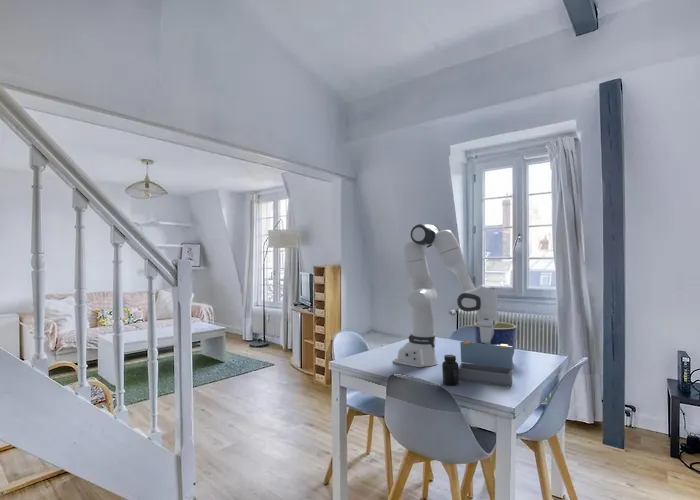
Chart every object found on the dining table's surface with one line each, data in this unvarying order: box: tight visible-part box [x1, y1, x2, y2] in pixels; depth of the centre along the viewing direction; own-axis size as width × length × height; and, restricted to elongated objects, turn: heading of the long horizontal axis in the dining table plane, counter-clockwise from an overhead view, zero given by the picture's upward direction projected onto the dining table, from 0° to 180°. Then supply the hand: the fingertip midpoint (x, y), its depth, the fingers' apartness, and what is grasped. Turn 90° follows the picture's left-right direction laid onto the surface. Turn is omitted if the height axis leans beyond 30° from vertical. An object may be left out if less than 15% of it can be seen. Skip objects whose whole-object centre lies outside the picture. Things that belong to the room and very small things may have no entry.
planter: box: [473, 321, 517, 356], centre depth 203 cm, size 21×21×19 cm
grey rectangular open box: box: [458, 362, 513, 388], centre depth 174 cm, size 22×10×5 cm, turn 64°
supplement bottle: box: [441, 354, 460, 387], centre depth 169 cm, size 7×7×12 cm
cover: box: [459, 340, 514, 369], centre depth 177 cm, size 22×11×3 cm
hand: (487, 348), depth 185 cm, fingers closed
